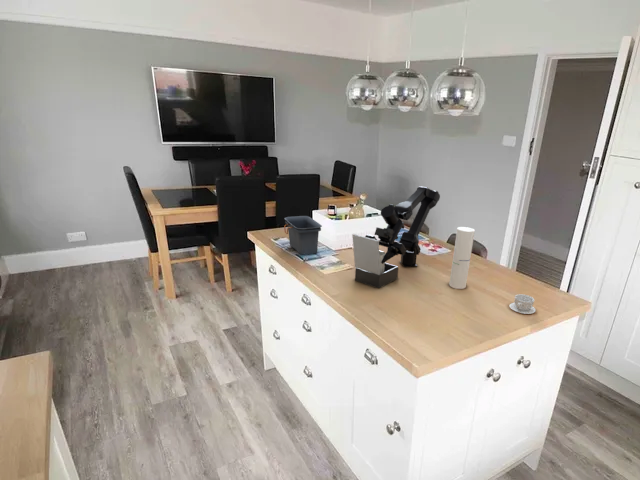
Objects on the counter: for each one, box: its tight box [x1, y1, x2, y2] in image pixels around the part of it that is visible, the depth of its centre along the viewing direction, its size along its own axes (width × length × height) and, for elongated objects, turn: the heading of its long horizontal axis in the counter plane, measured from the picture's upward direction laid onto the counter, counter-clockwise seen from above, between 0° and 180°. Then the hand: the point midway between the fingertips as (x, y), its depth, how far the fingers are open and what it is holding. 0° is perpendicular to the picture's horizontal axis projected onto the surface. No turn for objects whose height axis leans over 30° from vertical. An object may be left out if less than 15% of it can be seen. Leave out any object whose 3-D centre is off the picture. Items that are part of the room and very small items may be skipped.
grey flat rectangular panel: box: [352, 233, 380, 275], centre depth 168 cm, size 15×12×1 cm
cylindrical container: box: [448, 226, 476, 290], centre depth 175 cm, size 7×7×25 cm
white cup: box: [379, 250, 386, 274], centre depth 177 cm, size 6×6×10 cm
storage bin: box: [284, 215, 323, 256], centre depth 206 cm, size 21×16×14 cm
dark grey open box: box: [354, 262, 399, 289], centre depth 179 cm, size 14×12×6 cm
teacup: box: [508, 293, 537, 315], centre depth 162 cm, size 10×10×5 cm
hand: (375, 261), depth 175 cm, fingers closed on white cup, 6 cm apart
